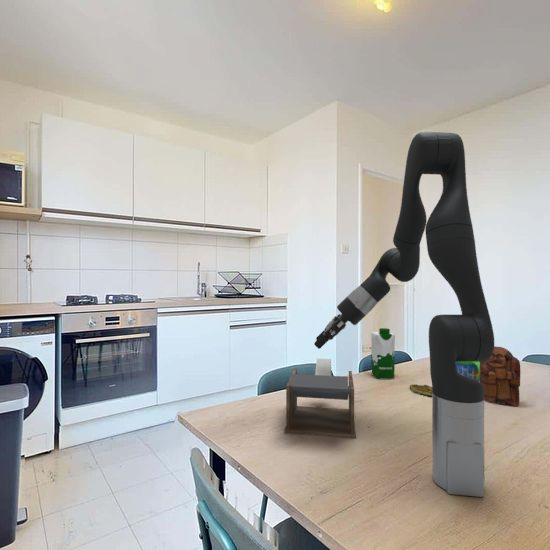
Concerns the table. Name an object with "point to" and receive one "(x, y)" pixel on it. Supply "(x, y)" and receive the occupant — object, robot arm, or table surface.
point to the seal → (422, 390)
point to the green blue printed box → (469, 369)
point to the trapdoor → (320, 386)
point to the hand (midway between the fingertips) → (317, 343)
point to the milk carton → (383, 353)
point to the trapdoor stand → (320, 416)
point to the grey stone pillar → (323, 367)
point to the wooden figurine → (501, 377)
